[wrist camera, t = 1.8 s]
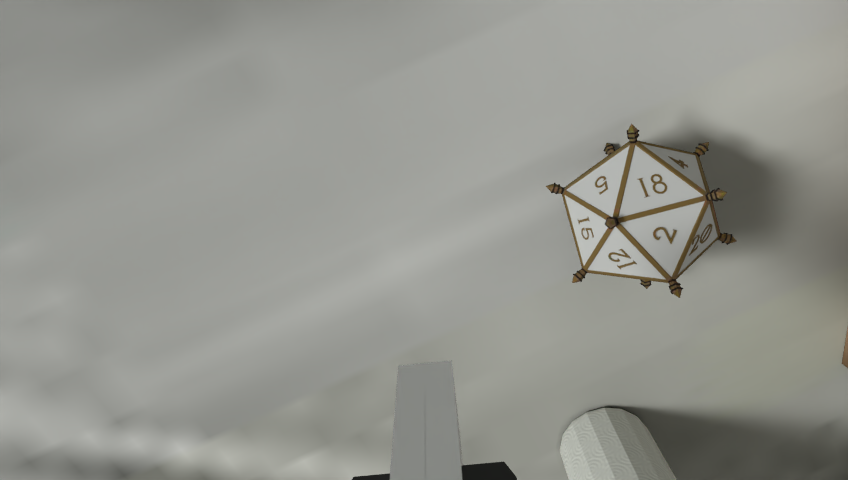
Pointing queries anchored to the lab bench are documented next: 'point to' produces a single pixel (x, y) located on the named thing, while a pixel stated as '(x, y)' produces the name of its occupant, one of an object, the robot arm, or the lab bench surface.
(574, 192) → the game die
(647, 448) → the paper towel roll
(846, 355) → the board
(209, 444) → the lab bench surface
